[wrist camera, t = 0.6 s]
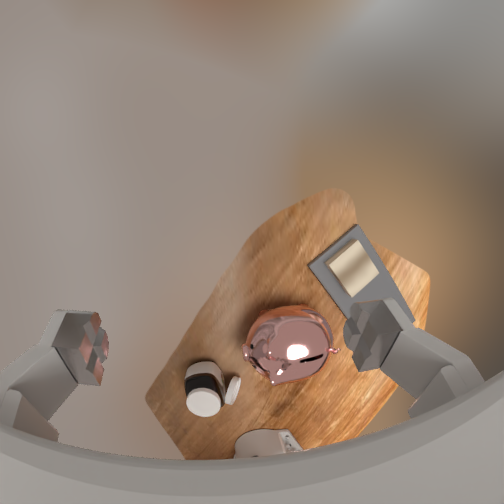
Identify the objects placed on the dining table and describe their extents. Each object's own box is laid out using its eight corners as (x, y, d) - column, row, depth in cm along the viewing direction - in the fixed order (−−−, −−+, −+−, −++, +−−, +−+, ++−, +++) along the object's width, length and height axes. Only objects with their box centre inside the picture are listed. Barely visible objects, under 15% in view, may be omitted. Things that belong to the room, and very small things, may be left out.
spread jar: (184, 360, 60) (176, 388, 48) (231, 350, 60) (232, 377, 49) (201, 400, 62) (197, 430, 50) (246, 391, 62) (249, 421, 51)
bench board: (412, 318, 63) (415, 320, 62) (372, 354, 63) (375, 357, 62) (355, 224, 59) (358, 224, 57) (307, 265, 59) (309, 266, 58)
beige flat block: (373, 270, 59) (379, 273, 56) (346, 294, 59) (352, 297, 56) (352, 238, 58) (358, 239, 55) (324, 262, 58) (328, 265, 55)
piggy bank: (235, 302, 59) (237, 332, 43) (318, 290, 60) (346, 314, 44) (245, 365, 61) (249, 407, 45) (321, 352, 62) (345, 388, 46)
